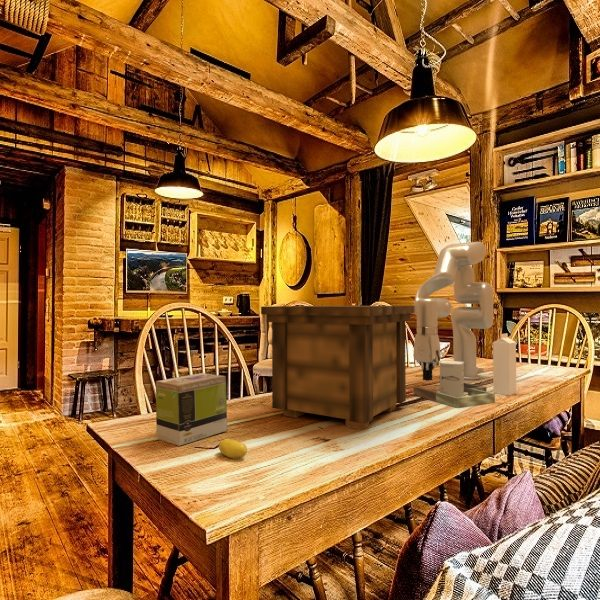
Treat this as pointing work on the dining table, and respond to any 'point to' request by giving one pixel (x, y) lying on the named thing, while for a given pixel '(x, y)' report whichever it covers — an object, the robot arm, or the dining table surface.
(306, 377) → the crate
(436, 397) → the grey-green angular frame
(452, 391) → the supplement box
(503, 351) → the milk
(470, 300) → the robot arm
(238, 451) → the lemon
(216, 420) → the tea box
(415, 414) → the dining table surface
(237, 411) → the dining table surface
